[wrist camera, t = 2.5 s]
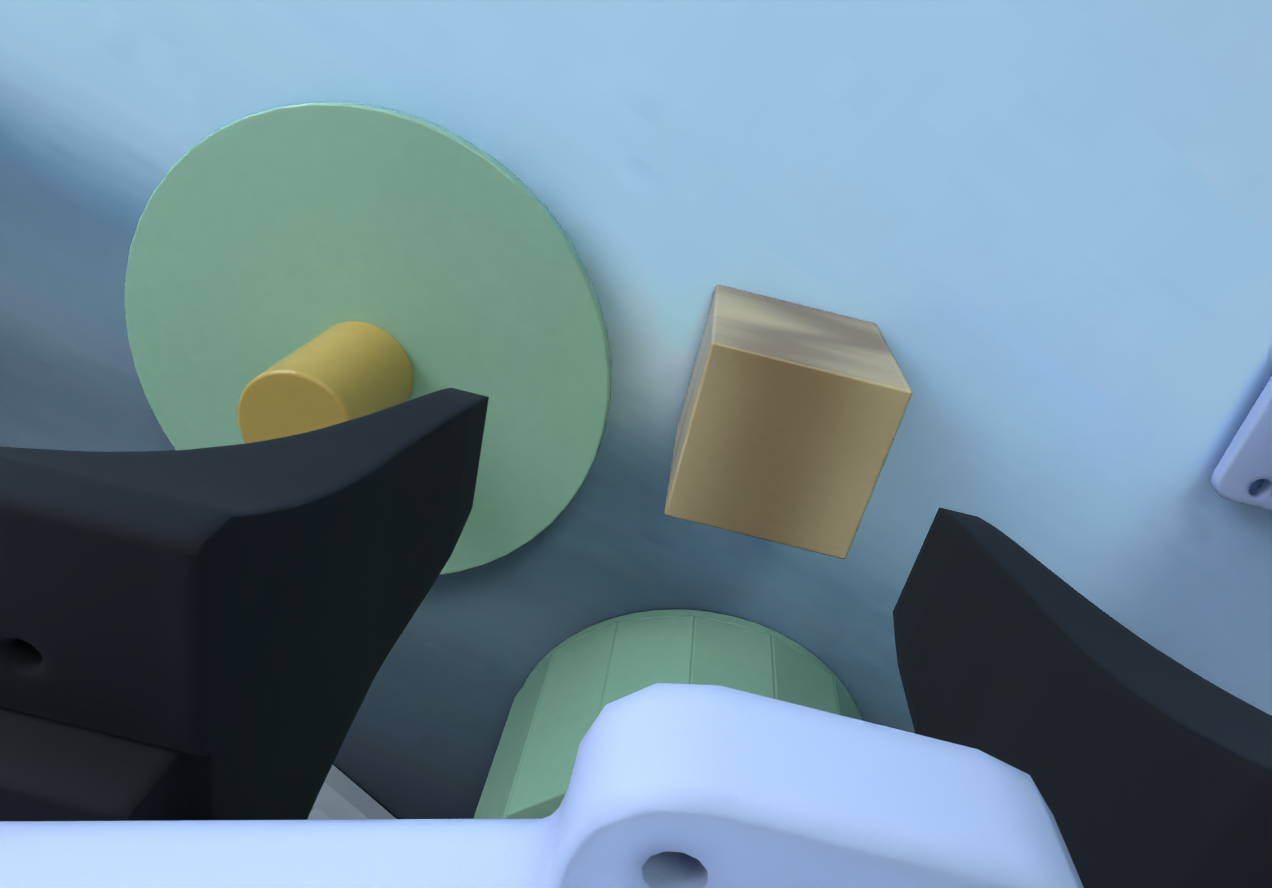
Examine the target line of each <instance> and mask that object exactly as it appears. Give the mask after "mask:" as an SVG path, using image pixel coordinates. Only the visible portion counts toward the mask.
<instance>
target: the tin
mask: <svg viewBox="0 0 1272 888" xmlns="http://www.w3.org/2000/svg"><path fill="white" fill-rule="evenodd" d="M656 683H670V684H696V685H720V686H724V687H728V688H732V689H736V690H740V691H744V692H748V693H752V694H756V695H760V696H764V697H768V698H772V699H777V700H781V701H785V702H789V703H793V704H797V705H801V706H805V707H809V708H813V709H817V710H821V711H825V712H829V713H833V714H837V715H841V716H845V717H849V718H853V719H857V720H862V717H861V714H860V712H859V709H858V708H857V706H856V704H855V702H854V700H853V698H852V697H851V695H850V693H849V692H848V690H847V689H846V688H845V686H844V685H843V684H842V682H841V681H840V680H839V679H838V677H837V676H836V675H835V674H834V673H833V672H832V671H831V670H830V669H829V668H828V667H827V666H826V665H825V664H824V663H823V662H822V661H821V660H820V659H818V658H817V657H816V656H814V655H813V654H812V653H810V652H809V651H808V650H807V649H805V648H804V647H803V646H801V645H799V644H798V643H796V642H794V641H792V640H791V639H789V638H787V637H786V636H784V635H782V634H780V633H778V632H776V631H773V630H771V629H769V628H766V627H764V626H762V625H760V624H757V623H754V622H751V621H747V620H744V619H741V618H738V617H734V616H730V615H725V614H719V613H714V612H709V611H698V610H686V609H669V610H652V611H644V612H637V613H631V614H627V615H623V616H619V617H615V618H611V619H608V620H605V621H603V622H600V623H598V624H595V625H592V626H590V627H587V628H586V629H584V630H582V631H580V632H578V633H576V634H574V635H573V636H571V637H569V638H568V639H566V640H565V641H563V642H562V643H561V644H559V645H558V646H557V647H555V648H554V649H553V650H551V651H550V652H549V653H548V654H547V655H546V656H545V657H544V658H543V659H542V660H541V661H540V662H539V663H538V664H537V665H536V667H535V668H534V669H533V671H532V672H531V674H530V675H529V676H528V678H527V679H526V681H525V683H524V685H523V687H522V688H521V690H520V691H519V692H518V693H517V694H516V697H515V698H514V701H513V704H512V707H511V710H510V713H509V716H508V719H507V722H506V724H505V727H504V730H503V733H502V736H501V739H500V742H499V745H498V748H497V751H496V754H495V757H494V760H493V763H492V765H491V768H490V771H489V774H488V777H487V780H486V783H485V786H484V789H483V792H482V795H481V798H480V801H479V803H478V806H477V809H476V812H475V815H474V818H473V819H542V818H545V817H547V816H550V815H552V814H553V813H554V812H555V811H556V810H557V809H558V808H559V807H560V805H561V803H562V801H563V798H564V796H565V794H566V792H567V790H568V787H569V783H570V779H571V775H572V771H573V768H574V764H575V760H576V756H577V752H578V748H579V744H580V742H581V740H582V739H583V737H584V736H585V735H586V733H587V732H588V730H589V729H590V727H591V726H592V724H593V723H594V721H595V720H596V718H597V717H598V715H599V714H600V712H601V711H602V710H603V708H604V707H605V705H606V704H609V703H611V702H613V701H616V700H618V699H620V698H623V697H625V696H628V695H630V694H632V693H635V692H637V691H639V690H642V689H644V688H646V687H649V686H651V685H653V684H656ZM862 721H863V720H862Z"/></svg>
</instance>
